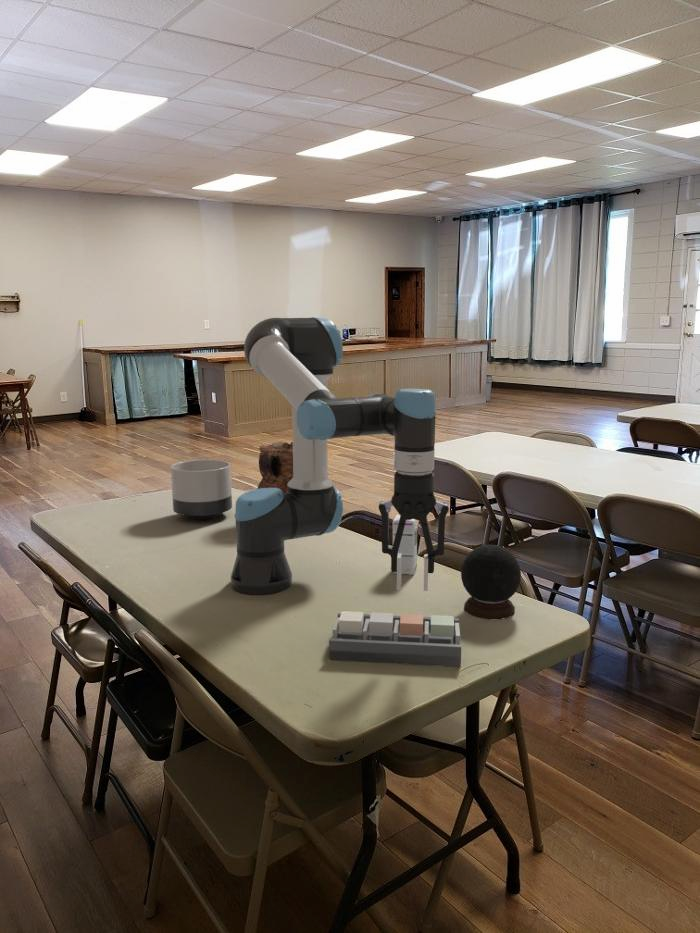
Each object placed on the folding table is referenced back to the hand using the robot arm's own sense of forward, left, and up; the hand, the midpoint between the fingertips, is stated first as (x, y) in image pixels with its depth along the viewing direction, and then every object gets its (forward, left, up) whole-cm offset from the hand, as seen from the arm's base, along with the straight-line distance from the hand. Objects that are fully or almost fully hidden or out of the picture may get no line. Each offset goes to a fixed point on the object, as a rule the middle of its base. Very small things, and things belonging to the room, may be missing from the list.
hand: (412, 587), depth 137 cm
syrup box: (-3, +44, -13) cm, 46 cm away
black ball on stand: (+17, +21, -13) cm, 30 cm away
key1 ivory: (-12, 0, -9) cm, 15 cm away
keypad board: (-3, 0, -13) cm, 13 cm away
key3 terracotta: (0, 0, -9) cm, 9 cm away
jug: (-43, +90, -13) cm, 101 cm away
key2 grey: (-6, 0, -9) cm, 11 cm away
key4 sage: (+6, 0, -9) cm, 11 cm away
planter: (-72, +89, -13) cm, 115 cm away
